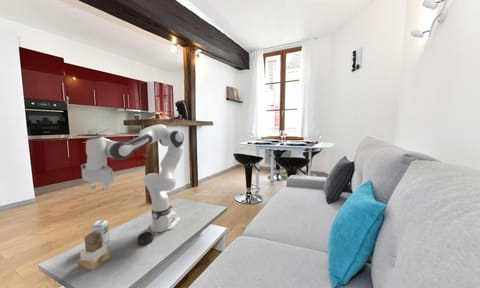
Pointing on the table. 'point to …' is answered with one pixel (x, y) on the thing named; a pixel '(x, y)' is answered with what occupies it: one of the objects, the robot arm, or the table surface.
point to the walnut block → (93, 241)
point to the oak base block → (93, 262)
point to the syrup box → (102, 230)
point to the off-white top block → (93, 253)
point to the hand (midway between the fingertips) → (99, 189)
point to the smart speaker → (145, 238)
